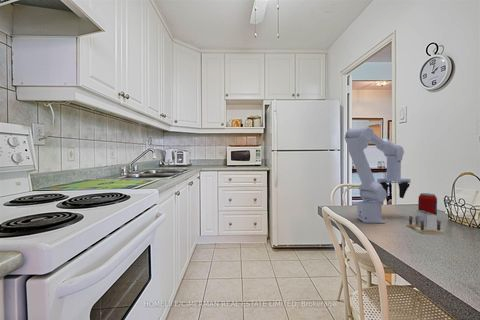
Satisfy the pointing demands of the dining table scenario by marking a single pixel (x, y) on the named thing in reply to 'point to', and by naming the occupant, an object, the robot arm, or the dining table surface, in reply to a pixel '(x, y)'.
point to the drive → (425, 220)
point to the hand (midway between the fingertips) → (393, 197)
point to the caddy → (423, 227)
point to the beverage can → (428, 203)
